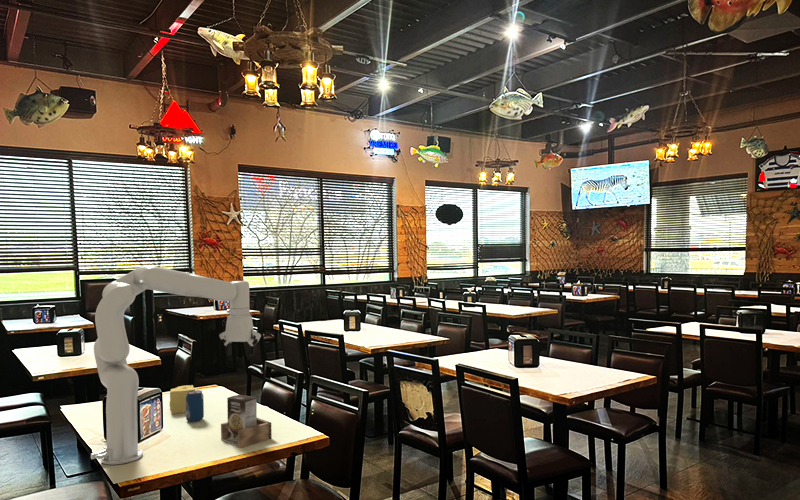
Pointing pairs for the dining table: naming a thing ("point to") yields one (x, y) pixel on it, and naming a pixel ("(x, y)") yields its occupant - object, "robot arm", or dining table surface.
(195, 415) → the soda can
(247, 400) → the coffee box
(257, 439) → the walnut caddy
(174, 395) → the cheese
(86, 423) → the dining table surface
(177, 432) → the dining table surface
